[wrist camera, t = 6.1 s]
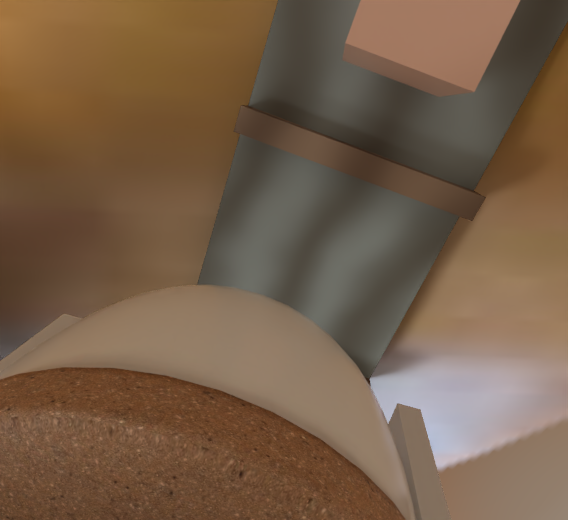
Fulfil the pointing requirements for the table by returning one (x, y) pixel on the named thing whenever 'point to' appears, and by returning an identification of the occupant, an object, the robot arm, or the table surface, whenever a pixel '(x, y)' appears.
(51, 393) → the lidded jar
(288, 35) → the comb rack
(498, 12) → the terracotta block
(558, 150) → the table surface
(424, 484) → the robot arm
